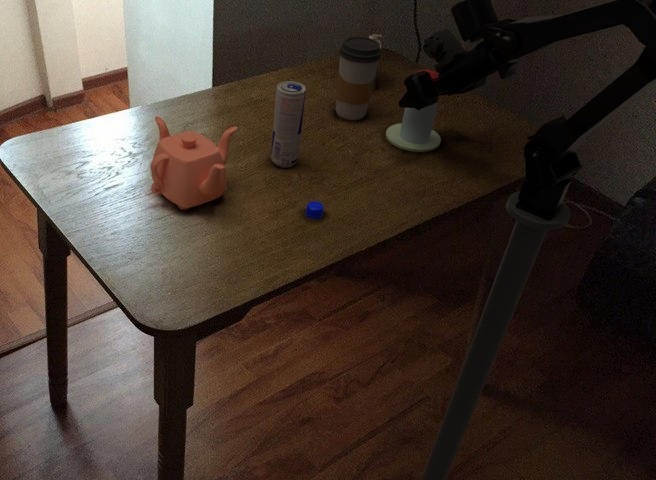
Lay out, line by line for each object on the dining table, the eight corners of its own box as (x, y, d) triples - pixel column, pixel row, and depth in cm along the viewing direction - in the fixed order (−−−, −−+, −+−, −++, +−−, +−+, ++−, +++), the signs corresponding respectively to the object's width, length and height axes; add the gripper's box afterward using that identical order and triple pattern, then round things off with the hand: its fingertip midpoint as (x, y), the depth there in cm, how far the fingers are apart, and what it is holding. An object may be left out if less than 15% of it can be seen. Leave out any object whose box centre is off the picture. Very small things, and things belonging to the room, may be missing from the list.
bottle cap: (313, 220, 118) (314, 212, 117) (301, 212, 120) (303, 203, 118) (326, 215, 119) (328, 207, 118) (315, 207, 121) (316, 198, 120)
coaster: (449, 138, 143) (450, 135, 142) (423, 158, 136) (424, 155, 136) (402, 120, 148) (403, 117, 147) (375, 138, 141) (375, 135, 140)
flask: (361, 72, 165) (369, 26, 158) (373, 73, 165) (382, 27, 158) (364, 89, 158) (372, 42, 151) (377, 90, 158) (385, 43, 151)
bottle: (433, 143, 140) (449, 83, 131) (405, 144, 139) (418, 83, 130) (423, 128, 144) (437, 69, 136) (395, 129, 143) (408, 70, 135)
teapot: (157, 168, 127) (155, 112, 120) (235, 177, 127) (238, 121, 119) (137, 212, 116) (133, 153, 109) (222, 223, 116) (224, 164, 108)
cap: (438, 95, 134) (442, 78, 132) (418, 95, 133) (422, 78, 131) (431, 86, 137) (435, 69, 135) (411, 86, 136) (415, 69, 134)
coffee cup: (372, 124, 145) (385, 53, 136) (332, 121, 145) (342, 50, 135) (368, 106, 152) (380, 36, 142) (329, 103, 151) (339, 34, 142)
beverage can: (300, 158, 133) (309, 83, 123) (293, 171, 129) (301, 94, 119) (275, 153, 134) (281, 77, 124) (266, 165, 130) (272, 89, 120)
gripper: (490, 11, 128) (430, 50, 142) (423, 31, 119) (366, 71, 132) (513, 69, 129) (451, 102, 142) (449, 92, 120) (389, 126, 133)
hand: (415, 99), depth 137 cm, fingers open, 9 cm apart
